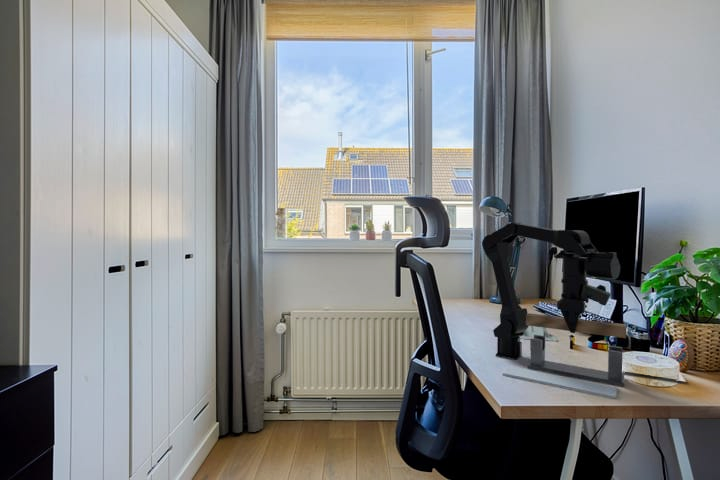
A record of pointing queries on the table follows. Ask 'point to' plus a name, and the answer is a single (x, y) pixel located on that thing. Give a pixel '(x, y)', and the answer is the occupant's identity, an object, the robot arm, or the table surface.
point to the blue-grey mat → (562, 382)
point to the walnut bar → (582, 325)
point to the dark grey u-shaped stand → (610, 377)
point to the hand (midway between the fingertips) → (573, 331)
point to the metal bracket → (537, 333)
